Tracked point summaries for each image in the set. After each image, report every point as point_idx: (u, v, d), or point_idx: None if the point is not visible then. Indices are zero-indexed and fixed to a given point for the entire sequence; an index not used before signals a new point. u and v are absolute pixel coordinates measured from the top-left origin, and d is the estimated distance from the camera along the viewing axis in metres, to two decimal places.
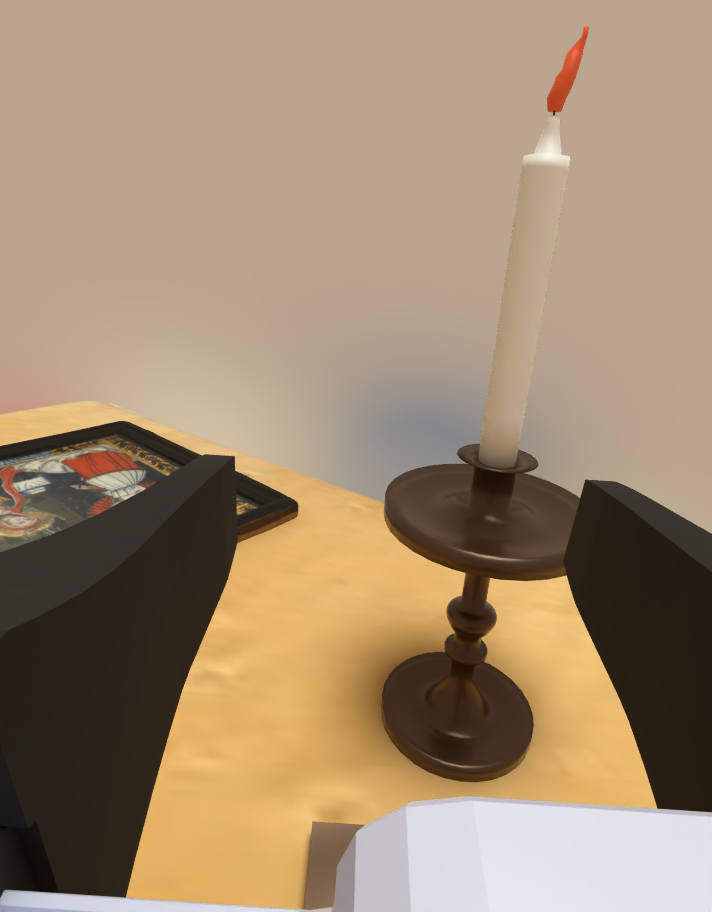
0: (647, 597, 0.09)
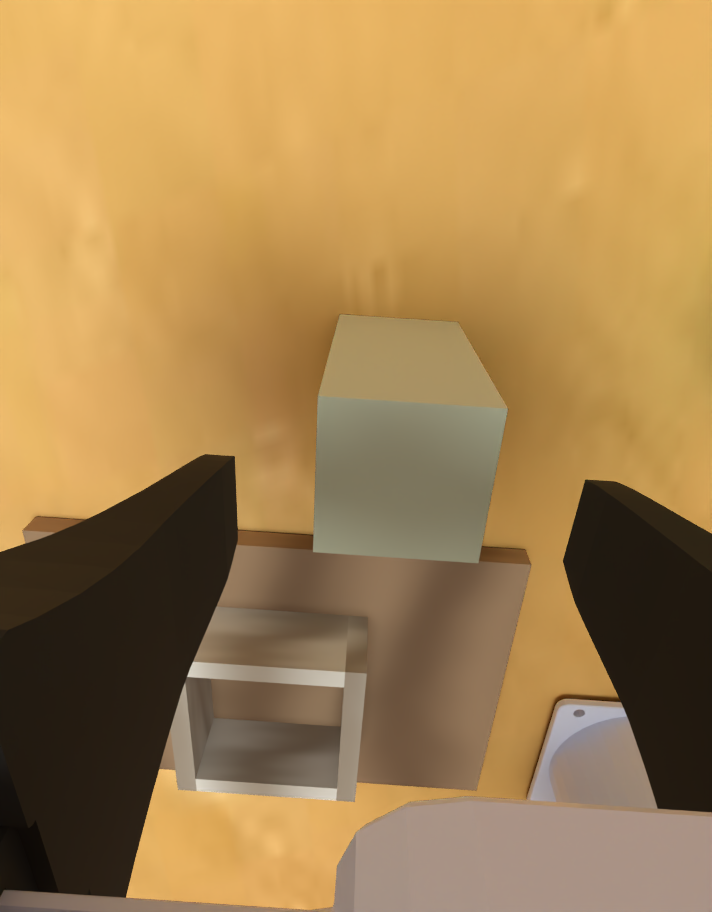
0: (648, 597, 0.09)
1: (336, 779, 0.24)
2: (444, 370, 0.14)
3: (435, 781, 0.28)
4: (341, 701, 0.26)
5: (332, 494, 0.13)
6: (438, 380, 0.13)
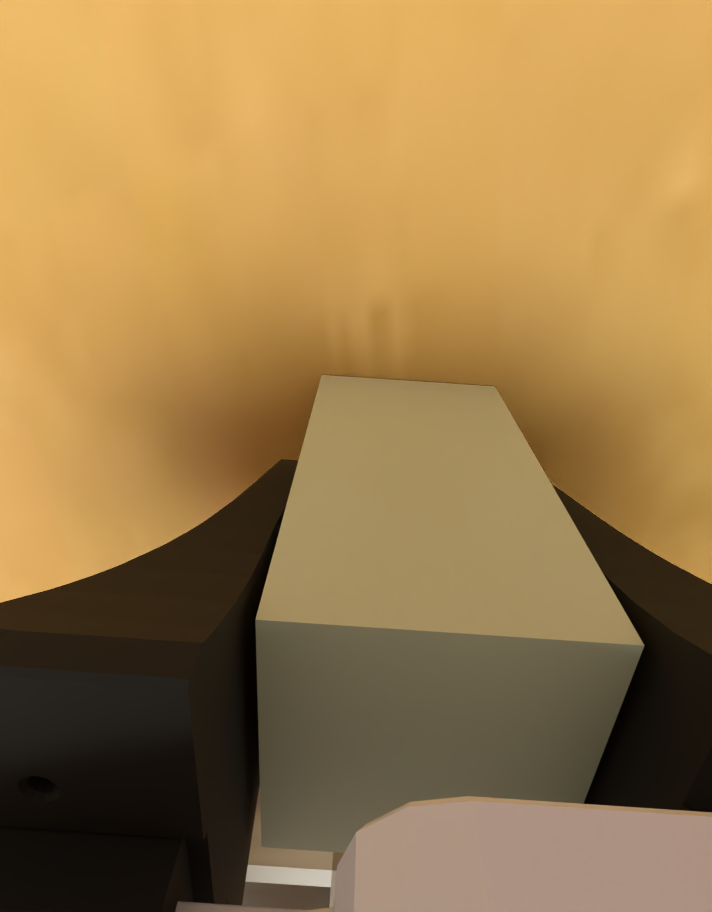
0: None
1: None
2: (496, 513, 0.08)
3: None
4: None
5: (293, 770, 0.07)
6: (489, 544, 0.07)
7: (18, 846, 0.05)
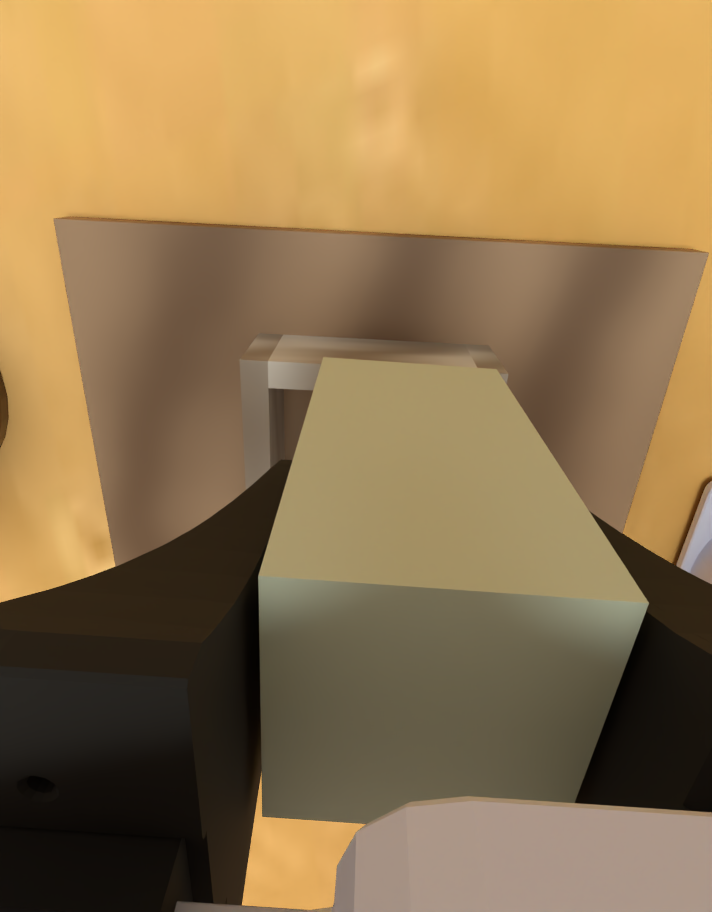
0: None
1: None
2: (498, 482, 0.08)
3: None
4: None
5: (294, 735, 0.07)
6: (492, 511, 0.07)
7: (18, 846, 0.05)
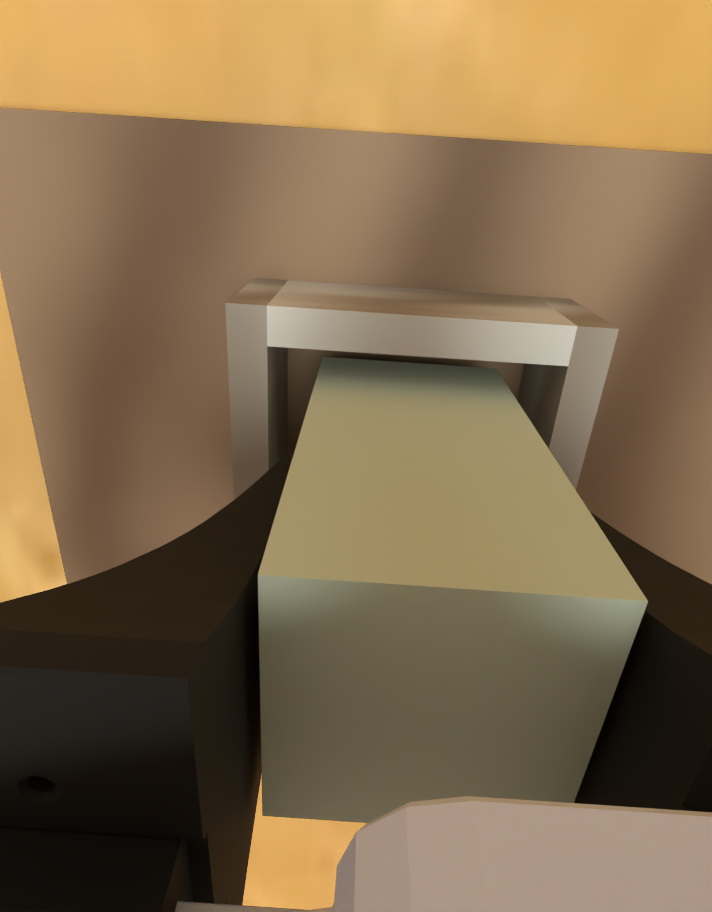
0: None
1: None
2: (497, 481, 0.08)
3: None
4: None
5: (294, 735, 0.07)
6: (491, 509, 0.07)
7: (18, 846, 0.05)
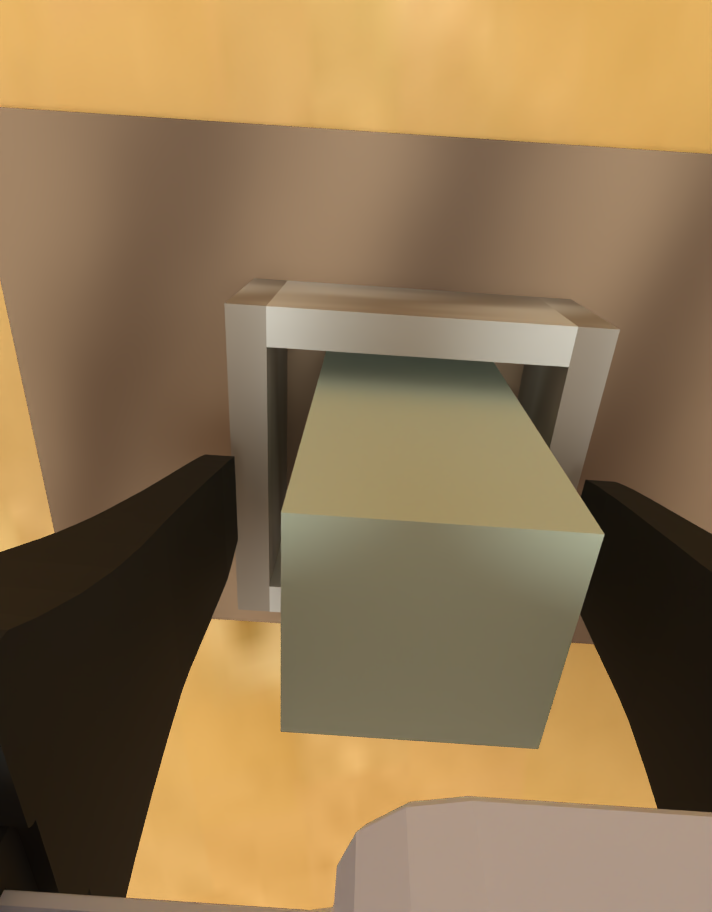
0: (648, 597, 0.09)
1: None
2: (484, 444, 0.09)
3: None
4: None
5: (309, 656, 0.08)
6: (478, 467, 0.08)
7: None
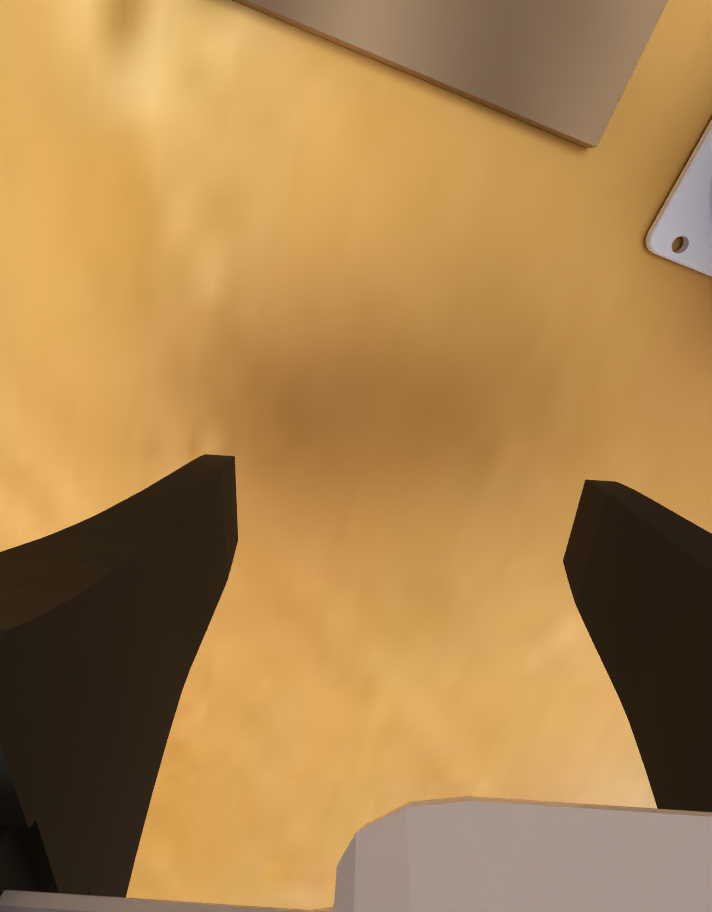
0: (647, 596, 0.09)
1: None
2: None
3: (539, 100, 0.16)
4: None
5: None
6: None
7: None
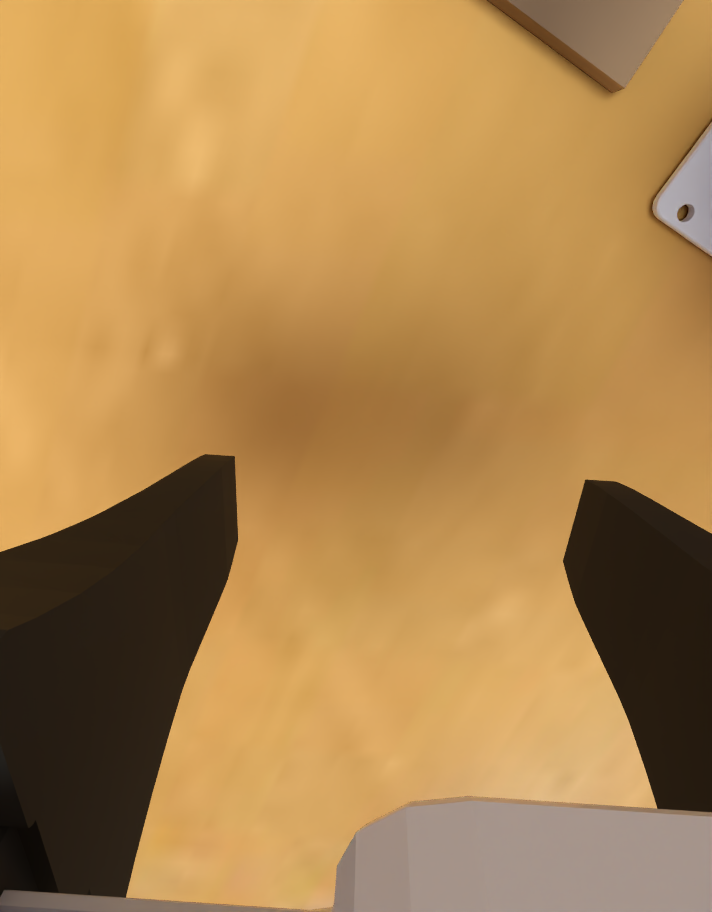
0: (647, 597, 0.09)
1: None
2: None
3: (577, 24, 0.15)
4: None
5: None
6: None
7: None
